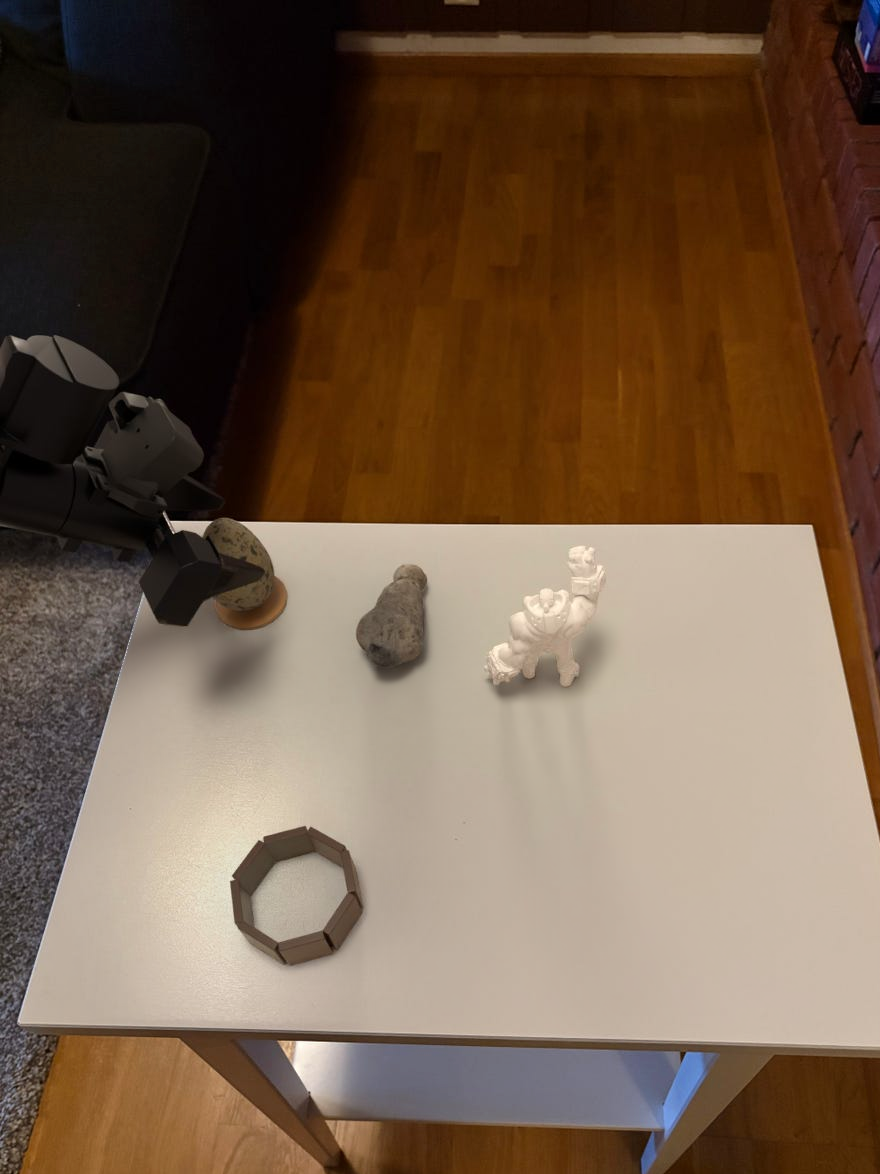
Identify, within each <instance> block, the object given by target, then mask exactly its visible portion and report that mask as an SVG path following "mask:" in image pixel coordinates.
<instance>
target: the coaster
mask: <svg viewBox="0 0 880 1174" xmlns="http://www.w3.org/2000/svg"><path fill="white" fill-rule="evenodd" d="M274 576H275V577H274V585H273V589H272V592H271V594H270V595H269V597H268V598H267V600H266V601H265V602H264V603H263V604H261V605H260V606H259V607H257V608H255V609H252V610H248V611H235V610H231V609H228V608H226V607H224V606H222V605H221V604H219V603H218V602H217V601H216V600H214V607H215V612H216V614H217V616H218V617H219V620H220V621H221V622H222V623H224V624H225V625H226V626H228V627H230V628H232V629H236V630H242V631H243V630H245V631H250V630H256V629H260V628H262V627H265V626H267V625H269V624H270V623H272V622H274V621H275V620H276V619H277V618H278V617H279V616H281V614H282V613H283V612H284V609H285V608H286V605H287V601H288V593H287V588H286V586H285V584H284V583H283V582H282V580H281V579H280V578H278V577H277V576H276V575H274Z"/></svg>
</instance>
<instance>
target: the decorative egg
mask: <svg viewBox="0 0 880 1174" xmlns="http://www.w3.org/2000/svg"><path fill="white" fill-rule="evenodd" d="M207 535H210V537H211V539H212V540H213V542H214V544H215V546H216V548H217V550H218V552H219V553H221V554H225V555H228V556H231V557H234V558H237V559H240V560H243V561H246V562H249V563H252V564H255V565H257V566H259V567H262V568H263V569H264V570H265V574H264V575H263V577H262V578H261V580H259V581H257V582H254V583H252V584H249V585H246V586H243V587H240V588H237V589H234V590H231V591H228V592H225V593H223V594H220V595H217V596H215V597H212V598H213V600H214V601H217V602H218V603H219V604H221V605H222V606H224V607H226V608H228V609H231V610H235V611H248V610H252V609H255V608H257V607H259V606H260V605H261V604H263V603H264V602H265V601H266V600H267V598H268V597H269V595H270V594H271V592H272V589H273V585H274V577H275V576H276V575H275V569H274V565H273V561H272V559H271V556H270V554H269V552H268V551H267V548H266V547H265V546H264V544H263V543H262V542H261V540H260V539H259V538H258V537H257V536H256V535H255V534H254V533H253V532H252V531H251V530H250V529H249V528H248V527H247V526H246V525H244V524H242V523H241V522H239V521H237V520H234V519H233V518H229V517H219V518H217V519H214V520H213V521H211V522H210V523H209V524H208V525H207V526H206V527H205V529H204V532H203V534H202V536H201V537H202V538H204V539H205V538H206V536H207Z"/></svg>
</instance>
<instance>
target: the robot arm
mask: <svg viewBox="0 0 880 1174" xmlns="http://www.w3.org/2000/svg"><path fill="white" fill-rule="evenodd" d="M119 385H120V379H119V376H118V374H117V373H116V372H115V370H114V369H113V368H112V367H111V366H110V365H109V364H108V363H107V362H106V361H105V360H104V359H102V358H101V357H99V356H98V355H97V354H96V353H94V352H93V351H91V350H89V349H87V348H86V347H84V346H83V345H80V344H78V343H76V342H75V341H72V340H70V339H68V338H65V337H63V336H60V335H56V334H54V335H52V336H48V335H38V334H36V335H31V336H30V337H28V338H27V340H26V339H22V338H19V337H17V336H14V335H11V334H10V335H6V336H5V338H4V340H3V342H2V344H1V346H0V527H4V528H9V529H14V530H20V531H25V532H29V533H35V534H39V535H44V536H51V537H55V538H56V539H57V541H58V543H59V546H60V548H61V551H64V552H69V553H74V554H77V552H78V550H79V548H80V547H81V545H82V543H86V544H91V545H96V546H101V547H107V548H110V549H111V551H112V554H113V556H114V557H115V560H116V561H117V562H123V563H128V564H129V563H130V562H131V561H132V559H133V557H134V556H135V554H136V552H137V551H142V550H144V549H145V548H146V549H147V551H148V553H149V554H150V557H151V560H150V562H149V563H148V565H147V567H146V569H145V571H144V572H143V573H142V575H141V576H140V579H139V580H138V584H139V586H140V588H141V591H142V593H143V595H144V597H145V599H146V601H147V603H148V605H149V608H150V610H151V612H152V614H153V616H154V618H155V620H156V622H157V624H158V625H163V626H165V625H166V626H173V627H180V628H187V627H188V626H189V625H190V623H191V622H192V620H193V619H194V617H195V615H196V614H197V612H198V611H199V610H200V608H201V606H202V605H203V603H204V602H206V601H208V600H211V599H212V598H213V597H215V596H217V595H220V594H223V593H225V592H228V591H231V590H234V589H237V588H240V587H243V586H246V585H249V584H252V583H254V582H257V581H259V580H261V578H262V577H263V575H264V574H265V570H264V569H263V568H262V567H259V566H257V565H255V564H252V563H249V562H246V561H243V560H240V559H237V558H234V557H231V556H228V555H225V554H221V553H219V552H218V550H217V548H216V546H215V544H214V542H213V540H212V539H211V537H210V535H207V536H206V538H205V539H204V538H202V537H203V536H201V535H200V534H198V533H197V532H194V531H190V530H186V529H181V530H179V531H176V530H175V528H174V526H173V524H172V522H171V520H170V518H169V517H168V514H167V513H166V511H182V512H183V511H185V512H209V511H210V512H211V511H220V510H221V509H222V507H223V506H224V504H225V499H224V497H222V496H221V495H219V494H218V493H216V492H215V491H213V490H211V489H210V488H208V487H207V486H206V485H204V484H202V483H201V482H199V481H198V480H196V479H194V478H193V477H191V476H190V475H188V474H189V473H191V472H195V471H196V470H197V469H198V468H199V467H200V466H201V465H202V463H203V461H204V457H205V453H204V451H203V450H204V449H203V448H202V447H201V446H200V444H199V443H198V442H197V439H196V438H195V436H194V435H193V433H192V430H191V428H190V426H188V425H187V424H185V422H183V421H182V420H181V419H179V418H178V417H177V416H176V415H175V414H173V413H172V412H171V411H170V410H169V408H168V406H167V405H166V403H165V402H164V400H163V399H161V398H156V399H154V398H153V397H151V395H150V396H148V397H146V396H144V395H139V394H135V393H130V392H126V391H121V392H119V393H118V394H117V395H116V396H115V397H114V395H115V393H116V391H117V390H118V387H119ZM108 407H109V409H110V412H111V414H112V416H113V419H112V420H109V421H107V422H106V424H105V426H104V428H103V429H102V431H101V433H100V435H99V437H98V438H97V441H96V442H95V445H94V446H93V447H91V446H88V445H89V442H90V441H91V439H92V437H93V435H94V433H95V431H96V429H97V427H98V426H99V424H100V422H101V420H102V418H103V416H104V414H105V412H106V410H107V408H108Z"/></svg>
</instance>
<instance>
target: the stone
mask: <svg viewBox="0 0 880 1174" xmlns="http://www.w3.org/2000/svg"><path fill="white" fill-rule="evenodd" d="M392 578H393V579H392V580H393V581H392V582H391V583H389V584H387V585H386V586H385V587H384V588H383V589H382V591H381V593H380V594H379V596H378V598H377V600H376V602H375V605H374V607H373V608H372V609H371V610H369V611H368V612H367V613H365V614H364V615H363V616H362V617H361V618H360V619H359V621H358V623H357V626H356V629H355V638H356V641H357V644H358V646H359V647H360V648H361V649H362V650H363V651H364V652H365V654H366V655H367V656H368V657H369V659H370V662H372V664H374V665H375V666H376V667H380V668H394V667H397V666H399V665H401V664H406V663H409V662H412V661H414V660H415V659H416V658H417V657H418V656H419V655H420V654H421V652H422V650H423V646H424V645H423V644H424V629H423V620H424V596H423V593H422V592H423V591H424V589H426V586H427V585H428V577H427V574H426V573H425V572H424V570H423V569H422V568H421V567H420V566H418V564H413V563H404V564H401V565H400V566H399V567H397V568H396V569H395V571H394V572H393V576H392Z"/></svg>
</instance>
